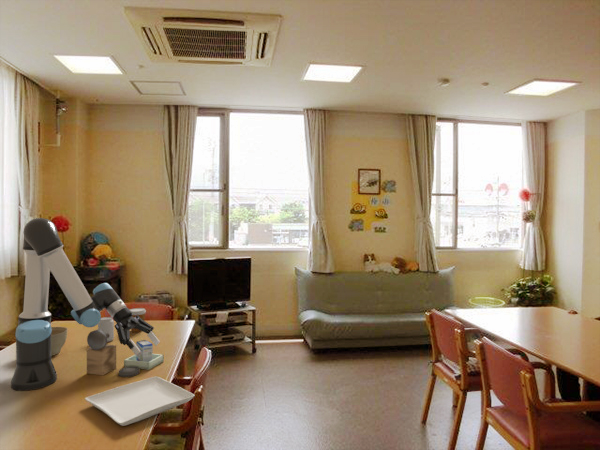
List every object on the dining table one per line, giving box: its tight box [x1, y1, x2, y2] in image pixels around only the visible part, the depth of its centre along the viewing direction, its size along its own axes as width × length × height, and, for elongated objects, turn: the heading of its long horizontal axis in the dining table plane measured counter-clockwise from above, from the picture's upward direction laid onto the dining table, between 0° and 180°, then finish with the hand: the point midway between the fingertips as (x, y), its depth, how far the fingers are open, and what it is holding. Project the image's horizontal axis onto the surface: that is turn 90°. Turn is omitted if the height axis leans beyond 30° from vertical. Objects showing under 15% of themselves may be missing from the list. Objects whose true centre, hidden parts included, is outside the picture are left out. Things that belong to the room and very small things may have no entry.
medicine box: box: [135, 339, 154, 362], centre depth 184 cm, size 8×4×9 cm, turn 42°
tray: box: [123, 353, 165, 371], centre depth 184 cm, size 11×13×3 cm
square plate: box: [84, 376, 195, 427], centre depth 144 cm, size 27×27×4 cm
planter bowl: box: [51, 326, 69, 357], centre depth 196 cm, size 16×16×11 cm
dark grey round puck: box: [118, 367, 140, 378], centre depth 173 cm, size 8×8×2 cm
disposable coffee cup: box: [129, 307, 147, 333], centre depth 237 cm, size 10×10×12 cm
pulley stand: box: [86, 328, 117, 376], centre depth 175 cm, size 8×8×18 cm
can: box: [97, 316, 115, 343], centre depth 217 cm, size 8×8×12 cm
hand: (148, 348), depth 183 cm, fingers open, 13 cm apart
